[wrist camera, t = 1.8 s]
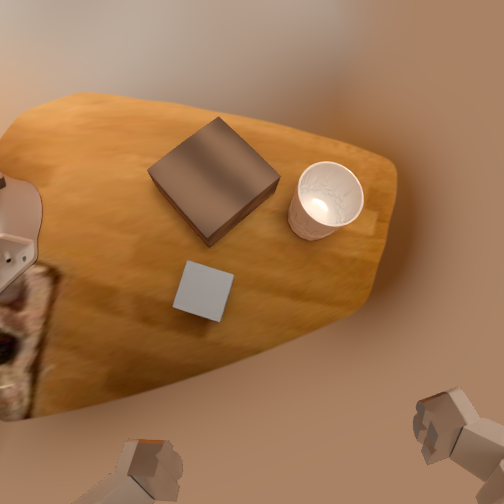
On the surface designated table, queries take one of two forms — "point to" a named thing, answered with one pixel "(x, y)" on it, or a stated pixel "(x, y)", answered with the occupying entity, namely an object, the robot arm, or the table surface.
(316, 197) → the white cup
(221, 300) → the slate block
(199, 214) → the walnut box
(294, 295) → the table surface
